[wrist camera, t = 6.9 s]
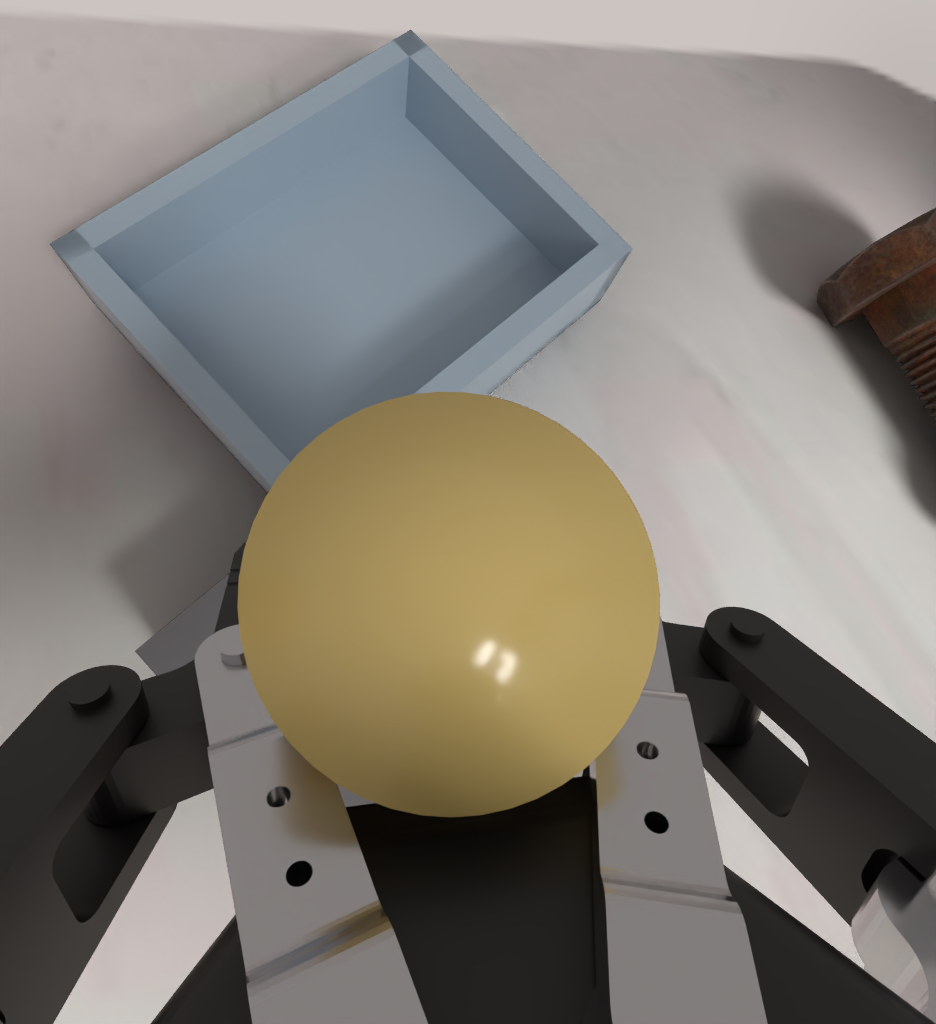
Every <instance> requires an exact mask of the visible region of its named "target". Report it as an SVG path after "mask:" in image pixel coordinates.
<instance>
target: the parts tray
mask: <svg viewBox="0 0 936 1024" xmlns="http://www.w3.org/2000/svg"><path fill="white" fill-rule="evenodd" d="M50 245H51V246H52V248H53V249H54V250H55V252H56V253H57V254H58V256H59V257H60V258H61V260H62V261H63V262H64V264H65V265H66V266H67V268H68V269H69V270H70V272H71V273H72V275H73V276H74V277H75V279H76V280H77V281H78V283H79V284H80V285H81V287H82V288H83V289H84V291H85V292H86V293H87V295H88V296H89V297H90V299H91V300H92V301H93V303H94V304H95V305H96V306H97V307H98V308H99V310H100V311H101V312H102V313H103V314H104V315H105V316H106V317H107V318H108V319H109V320H110V322H111V323H112V324H113V325H114V326H115V327H116V328H117V329H118V330H119V331H120V333H121V334H122V335H123V336H124V337H125V338H126V339H127V340H128V341H129V342H130V343H131V345H132V346H133V347H134V348H135V349H136V350H137V351H138V352H139V353H140V354H141V355H142V357H143V358H144V359H145V360H146V361H147V362H148V363H149V364H150V365H151V366H152V368H153V369H154V370H155V371H156V372H157V373H158V374H159V375H160V376H161V377H162V378H163V380H164V381H165V382H166V383H167V384H168V385H169V386H170V387H171V388H172V389H173V390H174V392H175V393H176V394H177V395H178V396H179V397H180V398H181V399H182V400H183V401H184V403H185V404H186V405H187V406H188V407H189V408H190V409H191V410H192V411H193V412H194V413H195V415H196V416H197V417H198V418H199V419H200V420H201V421H202V422H203V423H204V424H205V425H206V427H207V428H208V429H209V430H210V431H211V432H212V433H213V434H214V435H215V436H216V438H217V439H218V440H219V441H220V442H221V443H222V444H223V445H224V446H225V447H226V448H227V450H228V451H229V452H230V453H231V454H232V455H233V456H234V457H235V458H236V459H237V460H238V462H239V463H240V464H241V465H242V466H243V467H244V468H245V469H246V470H247V471H248V473H249V474H250V475H251V476H252V477H253V478H254V479H255V480H256V481H257V482H258V483H259V485H260V486H261V487H262V488H263V489H264V490H265V491H266V492H267V493H268V492H269V491H270V489H271V488H272V486H273V485H274V483H275V481H276V480H277V478H278V477H279V475H280V474H281V473H282V472H283V471H284V469H285V468H286V467H287V466H288V465H289V464H290V462H291V461H292V460H293V459H294V458H295V457H296V455H297V454H298V453H299V452H301V451H302V450H303V449H304V448H305V447H306V446H307V445H308V444H309V443H311V442H312V441H313V440H314V439H315V438H316V437H317V436H319V435H320V434H322V433H323V432H324V431H326V430H327V429H329V428H330V427H332V426H333V425H335V424H336V423H338V422H339V421H341V420H343V419H345V418H347V417H349V416H350V415H352V414H354V413H356V412H358V411H360V410H362V409H364V408H367V407H370V406H373V405H375V404H378V403H381V402H384V401H386V400H390V399H394V398H399V397H403V396H407V395H412V394H421V393H430V392H465V393H473V394H480V395H489V394H490V393H491V392H492V391H493V390H494V389H496V388H497V387H498V386H499V385H500V384H502V383H503V382H504V381H505V380H506V379H507V378H509V377H510V376H511V375H512V374H513V373H515V372H516V371H517V370H518V369H519V368H521V367H522V366H523V365H524V364H525V363H526V362H528V361H529V360H530V359H531V358H532V357H534V356H535V355H536V354H537V353H538V352H539V351H541V350H542V349H543V348H544V347H545V346H547V345H548V344H549V343H550V342H551V341H553V340H554V339H555V338H556V337H557V336H558V335H560V334H561V333H562V332H563V331H564V330H566V329H567V328H568V327H569V326H570V325H571V324H573V323H574V322H575V321H576V320H577V319H579V318H580V317H581V316H582V315H583V314H585V313H586V312H587V311H588V310H589V309H590V308H592V307H593V306H594V305H595V304H596V303H598V302H599V301H600V300H601V298H602V297H603V295H604V293H605V292H606V290H607V289H608V287H609V285H610V284H611V282H612V281H613V279H614V277H615V276H616V274H617V273H618V271H619V269H620V268H621V266H622V265H623V263H624V261H625V260H626V258H627V257H628V255H629V253H630V252H631V250H632V248H631V247H630V246H629V245H628V244H627V243H626V242H625V241H624V240H623V239H622V238H621V237H620V236H619V235H618V234H617V233H616V232H615V231H614V230H613V229H612V228H611V227H610V226H609V225H608V224H607V223H606V222H605V221H604V220H603V219H602V218H601V217H600V216H599V215H598V214H597V213H596V212H595V211H594V210H593V209H592V208H591V207H590V206H589V205H588V204H587V203H586V202H585V201H584V200H583V199H582V198H581V197H580V196H579V195H578V194H577V193H576V192H575V191H574V190H573V189H572V188H571V187H570V186H569V185H568V184H567V183H566V182H565V181H564V180H563V179H562V178H561V177H560V176H559V175H557V174H556V173H555V172H554V171H553V170H552V169H551V168H550V167H549V166H548V165H547V164H546V163H545V162H544V161H543V160H542V159H541V158H540V157H539V156H538V155H537V154H536V153H535V152H534V151H533V150H532V149H531V148H530V147H529V146H528V145H527V144H526V143H525V142H524V141H523V140H522V139H521V138H520V137H519V136H518V135H517V134H516V133H515V132H514V131H513V130H512V129H511V128H510V127H509V126H508V125H507V124H506V123H505V122H504V121H503V120H502V119H501V118H500V117H499V116H498V115H497V114H496V113H495V112H494V111H493V110H492V109H491V108H490V107H489V106H488V105H487V104H486V103H485V102H484V101H482V100H481V99H480V98H479V97H478V96H477V95H476V94H475V93H474V92H473V91H472V90H471V89H470V88H469V87H468V86H467V85H466V84H465V83H464V82H463V81H462V80H461V79H460V78H459V77H458V76H457V75H456V74H455V73H454V72H453V71H452V70H451V69H450V68H449V67H448V66H447V65H446V64H445V63H444V62H443V61H442V60H441V59H440V58H439V57H438V56H437V55H436V54H435V53H434V52H433V51H432V50H431V49H430V48H429V47H428V46H427V45H426V44H425V43H424V42H423V41H422V40H421V39H420V38H419V37H418V36H417V35H416V34H415V33H414V32H413V31H412V30H410V31H408V32H406V33H404V34H403V35H401V36H399V37H398V38H396V39H394V40H393V41H391V42H389V43H388V44H386V45H384V46H383V47H381V48H379V49H378V50H376V51H374V52H372V53H371V54H369V55H367V56H366V57H364V58H362V59H361V60H359V61H357V62H356V63H354V64H352V65H351V66H349V67H347V68H345V69H344V70H342V71H340V72H339V73H337V74H335V75H334V76H332V77H330V78H329V79H327V80H325V81H324V82H322V83H320V84H319V85H317V86H315V87H313V88H312V89H310V90H308V91H307V92H305V93H303V94H302V95H300V96H298V97H297V98H295V99H293V100H292V101H290V102H288V103H286V104H285V105H283V106H281V107H280V108H278V109H276V110H275V111H273V112H271V113H270V114H268V115H266V116H265V117H263V118H261V119H260V120H258V121H256V122H254V123H253V124H251V125H249V126H248V127H246V128H244V129H243V130H241V131H239V132H238V133H236V134H234V135H233V136H231V137H229V138H227V139H226V140H224V141H222V142H221V143H219V144H217V145H216V146H214V147H212V148H211V149H209V150H207V151H206V152H204V153H202V154H201V155H199V156H197V157H195V158H194V159H192V160H190V161H189V162H187V163H185V164H184V165H182V166H180V167H179V168H177V169H175V170H174V171H172V172H170V173H168V174H167V175H165V176H163V177H162V178H160V179H158V180H157V181H155V182H153V183H152V184H150V185H148V186H147V187H145V188H143V189H142V190H140V191H138V192H136V193H135V194H133V195H131V196H130V197H128V198H126V199H125V200H123V201H121V202H120V203H118V204H116V205H115V206H113V207H111V208H110V209H108V210H106V211H104V212H103V213H101V214H99V215H98V216H96V217H94V218H93V219H91V220H89V221H88V222H86V223H84V224H83V225H81V226H79V227H77V228H76V229H74V230H72V231H71V232H69V233H67V234H66V235H64V236H62V237H61V238H59V239H57V240H56V241H54V242H52V243H51V244H50Z"/></svg>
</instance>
